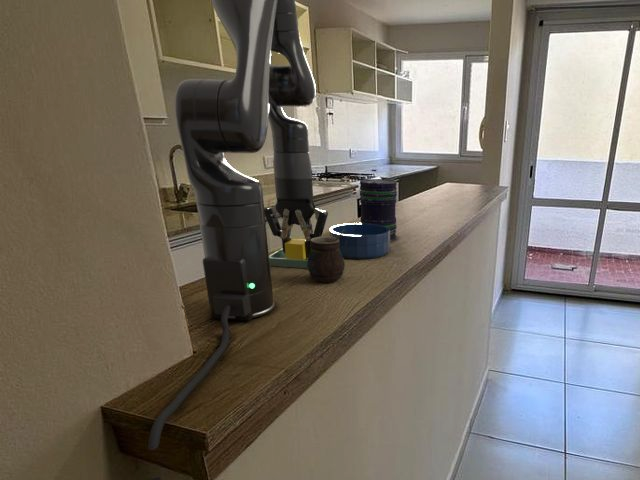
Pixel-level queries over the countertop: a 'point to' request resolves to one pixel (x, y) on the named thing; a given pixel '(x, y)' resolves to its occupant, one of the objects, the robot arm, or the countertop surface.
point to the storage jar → (379, 203)
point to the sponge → (295, 249)
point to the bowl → (362, 240)
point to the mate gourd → (325, 259)
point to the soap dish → (286, 260)
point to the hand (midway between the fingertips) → (299, 255)
